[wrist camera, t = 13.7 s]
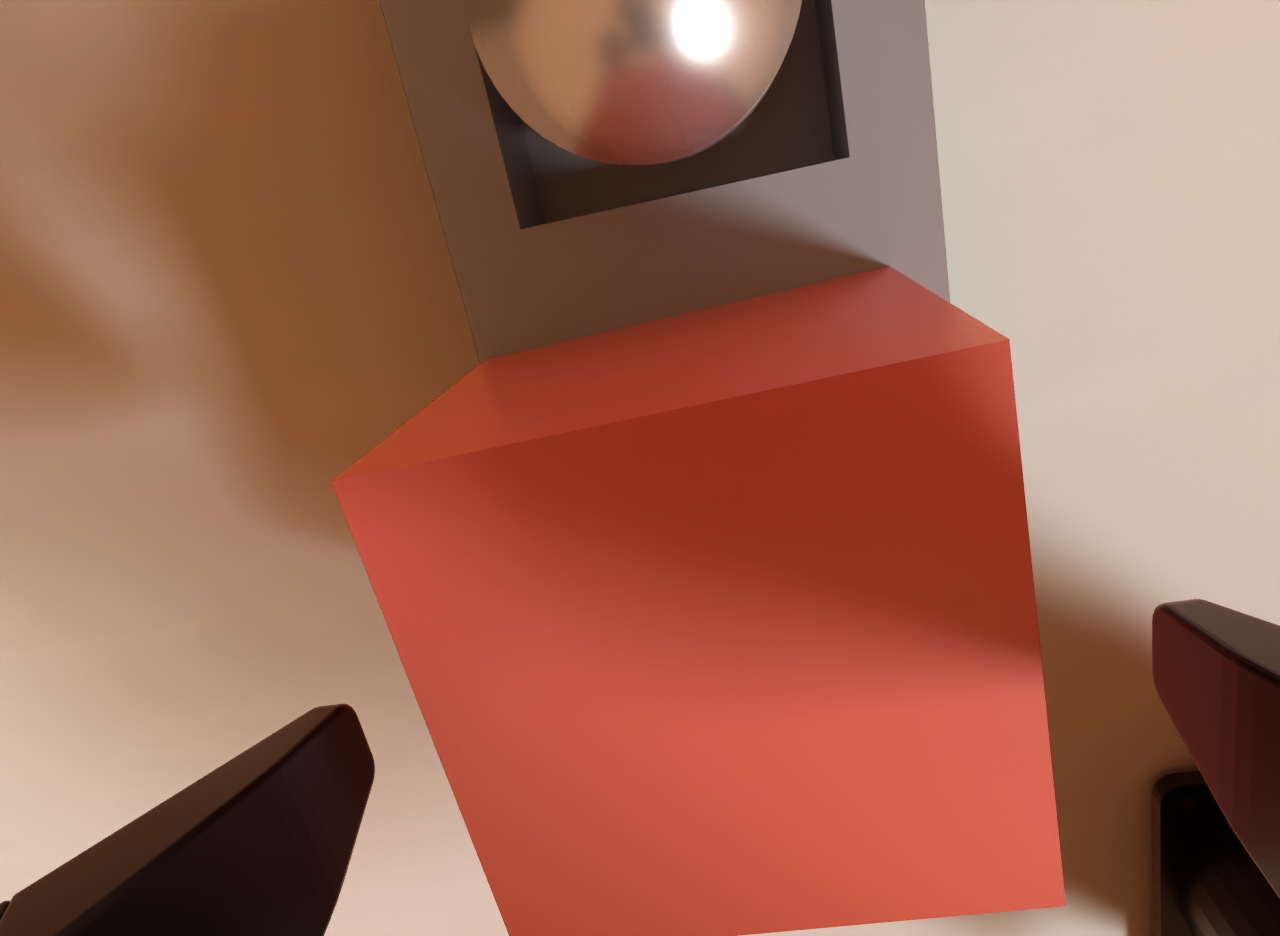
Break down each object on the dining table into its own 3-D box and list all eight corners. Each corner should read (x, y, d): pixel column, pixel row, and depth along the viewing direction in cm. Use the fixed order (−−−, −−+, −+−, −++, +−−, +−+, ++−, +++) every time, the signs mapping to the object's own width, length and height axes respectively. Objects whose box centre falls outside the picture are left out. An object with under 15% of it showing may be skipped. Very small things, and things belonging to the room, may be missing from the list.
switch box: (941, 580, 18) (979, 655, 15) (585, 627, 20) (561, 704, 17) (854, -295, 13) (888, -421, 10) (380, -147, 14) (296, -224, 12)
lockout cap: (943, 635, 15) (1065, 905, 10) (589, 689, 17) (516, 955, 11) (889, 266, 13) (1009, 339, 8) (486, 359, 14) (330, 480, 9)
